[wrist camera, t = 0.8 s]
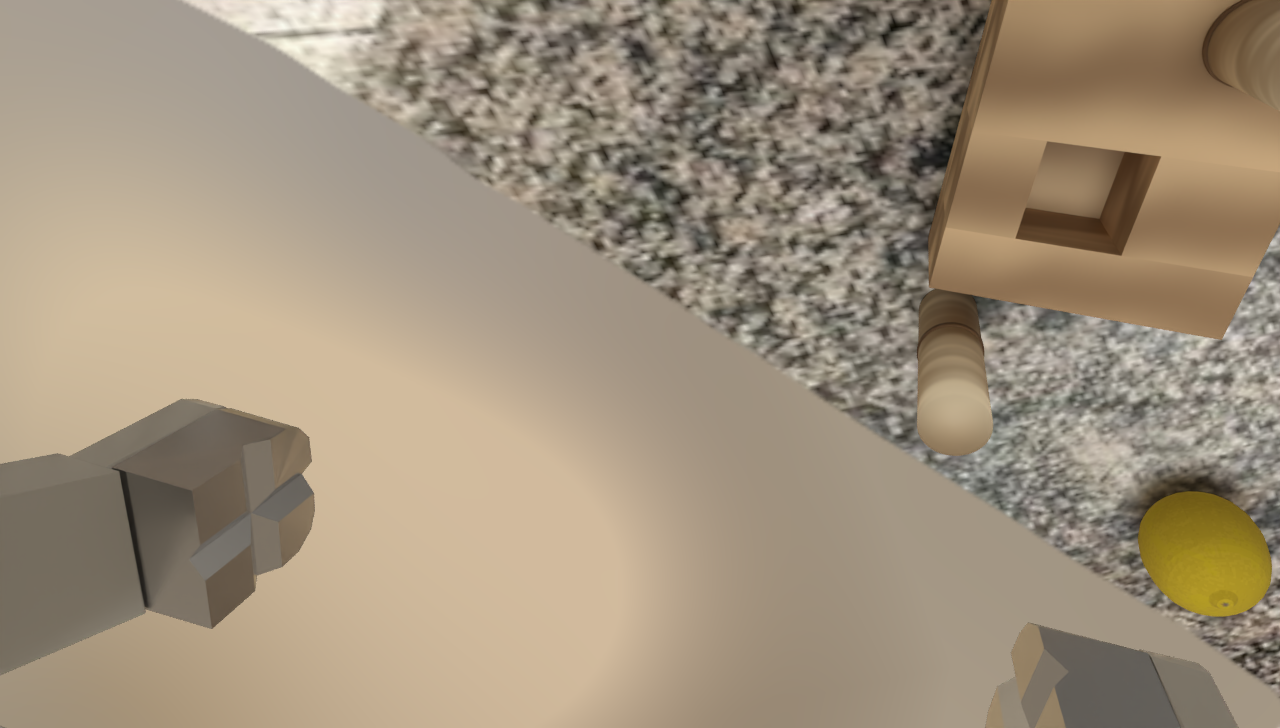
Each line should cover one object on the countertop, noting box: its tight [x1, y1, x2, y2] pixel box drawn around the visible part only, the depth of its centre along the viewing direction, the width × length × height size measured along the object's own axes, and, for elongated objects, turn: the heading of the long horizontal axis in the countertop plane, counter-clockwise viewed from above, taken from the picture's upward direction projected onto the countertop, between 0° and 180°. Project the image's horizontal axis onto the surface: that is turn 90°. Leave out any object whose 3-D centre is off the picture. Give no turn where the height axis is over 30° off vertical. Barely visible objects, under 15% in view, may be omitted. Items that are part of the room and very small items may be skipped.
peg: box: [917, 289, 993, 456], centre depth 39 cm, size 3×3×12 cm
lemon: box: [1138, 491, 1272, 616], centre depth 41 cm, size 6×6×8 cm
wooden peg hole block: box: [928, 0, 1280, 340], centre depth 31 cm, size 14×12×14 cm
